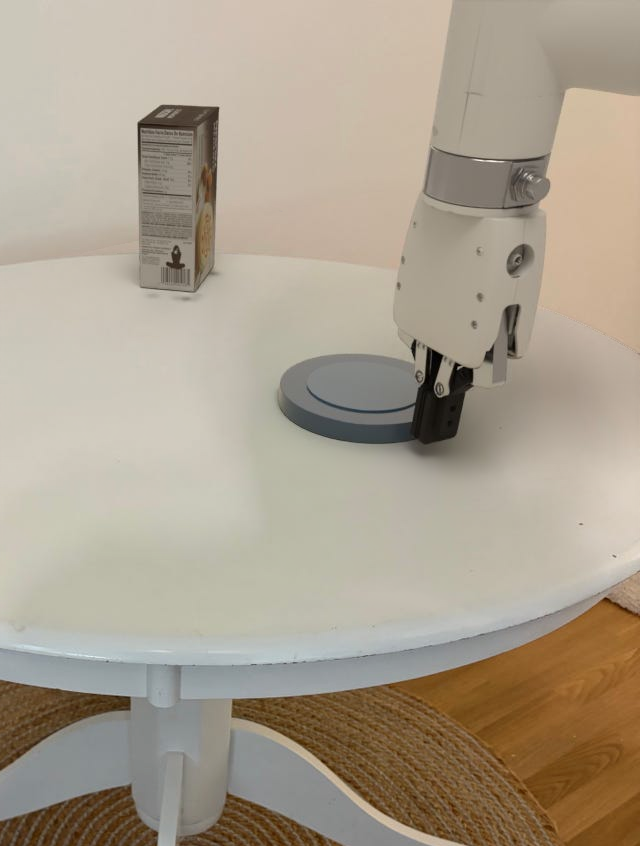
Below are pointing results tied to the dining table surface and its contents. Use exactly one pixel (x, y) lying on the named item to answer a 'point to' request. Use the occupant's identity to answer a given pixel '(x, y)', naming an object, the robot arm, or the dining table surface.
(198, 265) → the coffee box
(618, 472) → the dining table surface
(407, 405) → the plate
